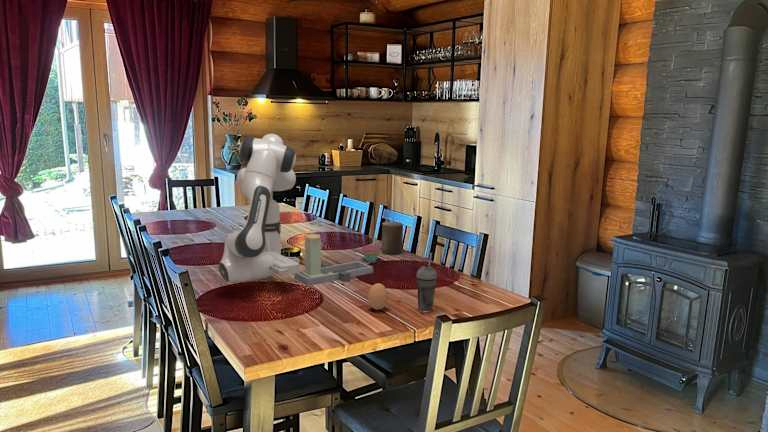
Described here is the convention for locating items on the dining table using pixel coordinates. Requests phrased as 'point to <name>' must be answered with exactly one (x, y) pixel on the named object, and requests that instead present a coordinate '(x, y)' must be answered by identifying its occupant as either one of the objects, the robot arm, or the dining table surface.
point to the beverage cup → (426, 286)
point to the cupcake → (370, 251)
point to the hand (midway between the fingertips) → (297, 259)
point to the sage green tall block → (312, 256)
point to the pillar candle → (392, 238)
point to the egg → (378, 296)
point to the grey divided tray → (331, 276)
